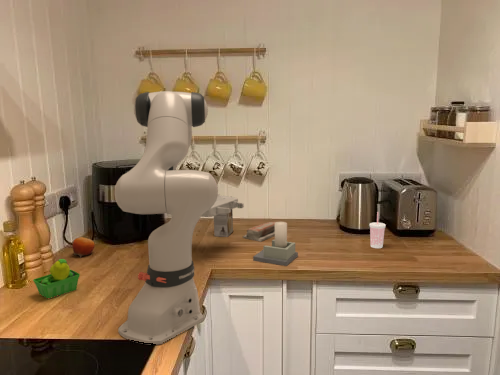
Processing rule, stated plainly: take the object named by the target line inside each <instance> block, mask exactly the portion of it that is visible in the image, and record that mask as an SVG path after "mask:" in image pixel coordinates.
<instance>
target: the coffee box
mask: <svg viewBox="0 0 500 375" xmlns="http://www.w3.org/2000/svg"><path fill="white" fill-rule="evenodd" d="M233 222H234V218H233V209H231V212H230V213H222V214H218V215H215V216H213V227H214V228H213V231H214V235H213V236H214V237H225V238H228V237H229V236H230V235H231V233H233V232H234V223H233Z"/></svg>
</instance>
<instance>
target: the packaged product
mask: <svg viewBox="0 0 500 375" xmlns="http://www.w3.org/2000/svg"><path fill="white" fill-rule="evenodd" d="M275 222H276V221H269V222H264V223H261V224H259V225H255V226H252V227H250V228H247V229H246V234H244V235H242V238H243V239H247V240H251V241H254V242H260V243H261V242H264V241H266V240H268V239H269V240H270V239H271V238H273V237H274V238H275Z"/></svg>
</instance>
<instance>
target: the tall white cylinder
mask: <svg viewBox="0 0 500 375" xmlns="http://www.w3.org/2000/svg"><path fill="white" fill-rule="evenodd" d="M274 222H275V236H274V240H275V247H279V248H286V247H287V242H288V223H287V222H286V221H274Z"/></svg>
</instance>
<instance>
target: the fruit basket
mask: <svg viewBox="0 0 500 375" xmlns="http://www.w3.org/2000/svg"><path fill="white" fill-rule="evenodd" d="M67 263H68V262H67V260H66V259H64V258H59V259H58V260H57V261H55V262H54V263H53V264H52V265H51V267H50V268H49V273H50V274H46V275H44V276H40V277H37V278H36V277H35V278H33V280H32V281H33V283H34V284H35V286H36V290H37V291H38V293H39V295H40V294H41V295H42V297H43V296H44V297H43V298H45V297H46V298H45V299H47V298H51V297H53V298H55V297H54V296H56V297H58V296H57V295H59V296H62V295H64V293H65V294H67V293H70V292H73V291H76V290H77V286H78V283H79V278H80V276H81V273H79V272H78V271H75V270H73V269H71V268H70V266H69V264H67ZM61 294H62V295H61ZM41 295H40V296H41ZM51 299H52V298H51Z"/></svg>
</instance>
